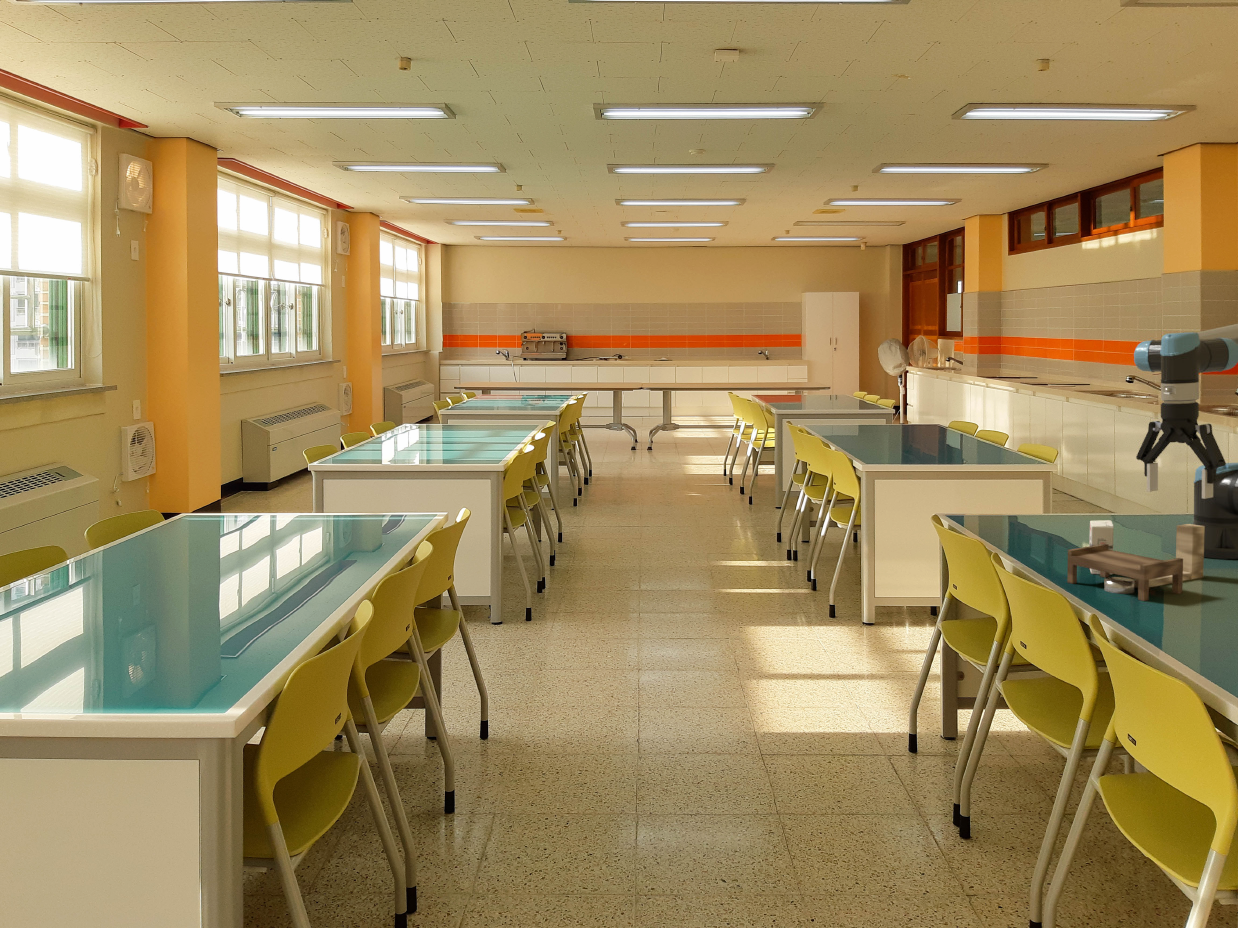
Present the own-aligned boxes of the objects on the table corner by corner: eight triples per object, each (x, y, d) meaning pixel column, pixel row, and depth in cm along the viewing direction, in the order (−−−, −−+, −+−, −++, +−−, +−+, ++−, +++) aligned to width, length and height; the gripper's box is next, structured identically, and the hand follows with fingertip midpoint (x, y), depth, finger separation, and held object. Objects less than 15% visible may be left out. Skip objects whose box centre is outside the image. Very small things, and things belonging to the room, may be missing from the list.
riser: (1104, 575, 235) (1104, 543, 234) (1182, 593, 217) (1183, 558, 216) (1067, 582, 230) (1067, 549, 229) (1143, 600, 212) (1144, 565, 211)
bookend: (1187, 573, 233) (1188, 523, 232) (1203, 577, 230) (1204, 526, 228) (1127, 585, 225) (1128, 533, 224) (1142, 588, 222) (1143, 536, 220)
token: (1117, 586, 225) (1117, 575, 225) (1140, 592, 220) (1140, 580, 220) (1098, 590, 223) (1098, 579, 223) (1121, 595, 218) (1121, 584, 217)
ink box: (1088, 566, 245) (1089, 519, 243) (1110, 567, 243) (1111, 519, 242) (1090, 574, 237) (1091, 525, 235) (1113, 575, 235) (1114, 526, 234)
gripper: (1119, 401, 233) (1120, 490, 236) (1221, 404, 211) (1220, 503, 213) (1142, 398, 236) (1142, 486, 239) (1244, 401, 214) (1243, 498, 216)
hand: (1179, 494), depth 226 cm, fingers open, 13 cm apart
